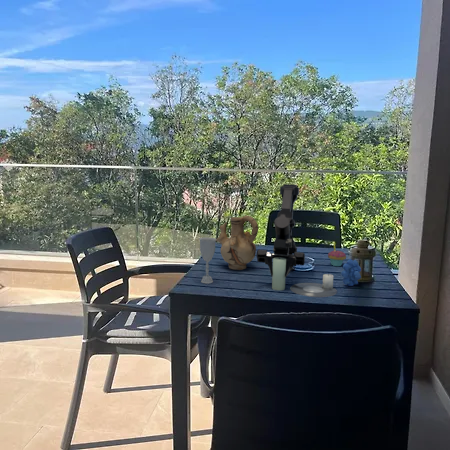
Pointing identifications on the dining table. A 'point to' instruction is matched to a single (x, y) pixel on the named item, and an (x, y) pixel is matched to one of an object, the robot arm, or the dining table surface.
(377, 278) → the dining table surface
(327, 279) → the ivory candle
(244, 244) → the ceramic vessel
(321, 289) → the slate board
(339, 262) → the cupcake
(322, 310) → the dining table surface
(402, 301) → the dining table surface
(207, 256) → the chalice
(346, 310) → the dining table surface
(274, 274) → the pillar candle
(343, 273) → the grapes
